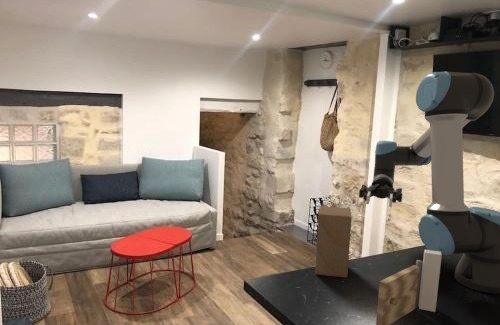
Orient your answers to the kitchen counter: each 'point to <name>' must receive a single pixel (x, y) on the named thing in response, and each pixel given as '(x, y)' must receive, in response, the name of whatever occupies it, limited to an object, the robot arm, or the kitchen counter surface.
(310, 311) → the kitchen counter surface
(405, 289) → the gate
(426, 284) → the wall stub
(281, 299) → the kitchen counter surface
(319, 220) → the wooden block
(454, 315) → the kitchen counter surface
